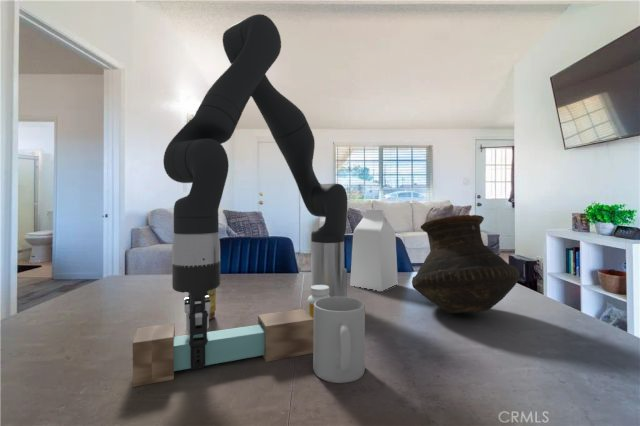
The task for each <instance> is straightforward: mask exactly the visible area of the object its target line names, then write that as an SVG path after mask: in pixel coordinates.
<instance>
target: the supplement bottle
mask: <svg viewBox="0 0 640 426" xmlns="http://www.w3.org/2000/svg"><path fill="white" fill-rule="evenodd" d="M311 294H312V295H311ZM328 294H329V286H326V285H314V286H311V285H310V295H309V296H308V298H307V301H306V302H307V303H306V304H307V305H306V309H307V311H306V313H308V314H309V315H310V316H311V317H312V318H313V319H314V303H315V302H316V301H317V300H319V299H322V298H326V297H330V296H329V295H328Z"/></svg>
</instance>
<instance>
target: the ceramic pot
mask: <svg viewBox="0 0 640 426" xmlns="http://www.w3.org/2000/svg"><path fill="white" fill-rule="evenodd" d="M484 219H485V217H484V216H482V215H479V214H478V215H477V214H473V215H472V214H471V215H470V214H462V215H461V214H459V215H450V216H445V217H443V216H442V217H438V218H434V219H431V220H429V221H426V222H424V223H423V224H421V226H420V229H421V230H422V231H424V232H425V233H426V235H427V239H428V245H429V253H428V254H427V256H426V258H425V259H424V262H423V264H421V265H420V266H419V269H418V270H417V273H416V274H415V275H414V276H413V277H412V280H411V283H412V284H411V285H412V289H415V291H416V292H417V293H419V294H420V295H421V296H423V297H424V298H425V299H427V300H428V301H429V302H431V303H432V304H433V305H436V306H437V307H439V308H440V309H442V310H443V311H445V312H446V313H448V314H460V313H475V312H477V313H478V312H485V311H490V310H491V309H492V308H493V307H494V306H496V305H497V304H498V303H499V302H501V301H502V300H503V299H504V298H505V297H506V296H507V294H509V293H510V291H511V290H512V289H513V288H514V287H515V286H516V285H517V283H518V282H519V280H520V279H521V277H520V271H519V270H518V268H516V267H515V266H514V265H511V264H509V263H508V262H506V260H505V259H504V258H502V256H500V255H499V254H497V253H495V252H494V251H493V250H492V249H491V248H489V247H488V246H487V245H485V243H484V241H483V237H482V233H481V232H482V231H481V224H482V222H483V221H484Z"/></svg>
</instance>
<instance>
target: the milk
mask: <svg viewBox="0 0 640 426" xmlns="http://www.w3.org/2000/svg"><path fill="white" fill-rule="evenodd" d="M353 230H354V231H352V232H353V233H352V246H351V247H352V248H351V263H350V265H351V267H350V281H349V283H350V284H349V286H350V287H354V286H355V287H354V288H359V287H361V288H360V289H364V288H367V289H366V290H369V289H373V290H372V291H375V290H377V291H376V292H380V291H382V292H384V291H383V290H385V289H387V288H389V287H392V286H394V285H396V284H398V285H399V283H398V282H399V281H398V280H399V279H398V261H397V259H398V258H397V240H396V239H397V238H396V237H397V236H396V230H395V227H393V226H392V224H391V223H390V221H389V219H387V217H386V213H385V212H384V209H365V212H364V214H363V217H362V219H361V220H360V222H358V224H357V225H356V226H355V228H354V229H353ZM394 287H395V286H394ZM392 288H393V287H392ZM387 290H388V289H387ZM385 291H386V290H385Z"/></svg>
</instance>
